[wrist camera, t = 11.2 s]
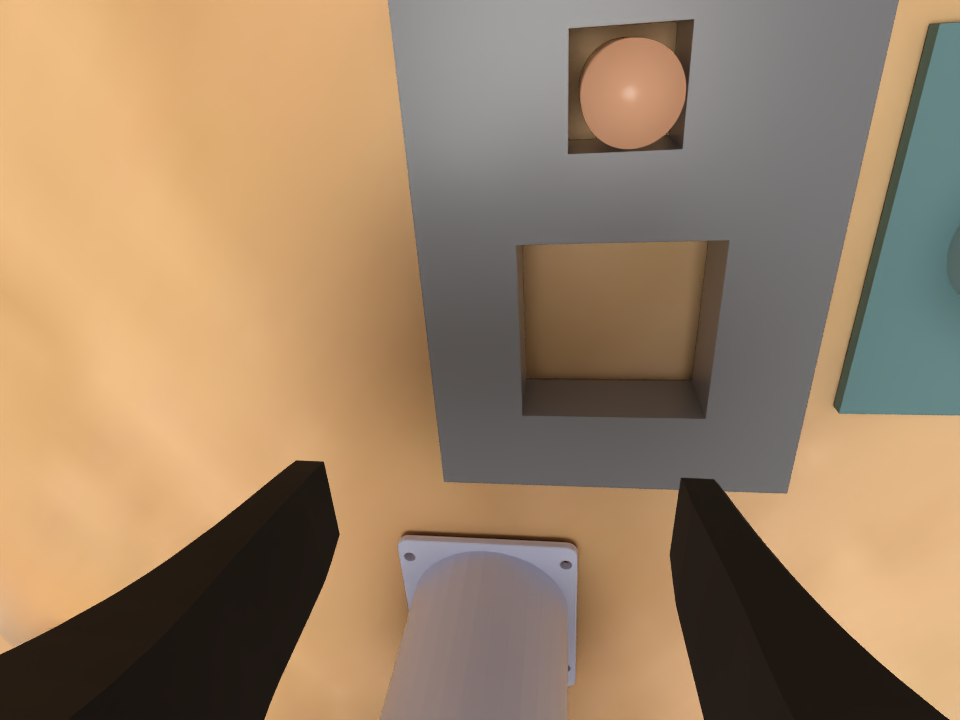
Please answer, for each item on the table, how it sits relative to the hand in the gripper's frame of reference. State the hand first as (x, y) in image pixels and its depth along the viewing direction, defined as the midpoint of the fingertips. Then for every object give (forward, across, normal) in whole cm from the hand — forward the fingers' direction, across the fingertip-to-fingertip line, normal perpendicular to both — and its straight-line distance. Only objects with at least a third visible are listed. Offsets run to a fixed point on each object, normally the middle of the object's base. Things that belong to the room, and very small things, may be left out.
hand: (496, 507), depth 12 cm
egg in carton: (+10, -3, -7) cm, 13 cm away
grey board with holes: (+10, -3, -2) cm, 11 cm away
